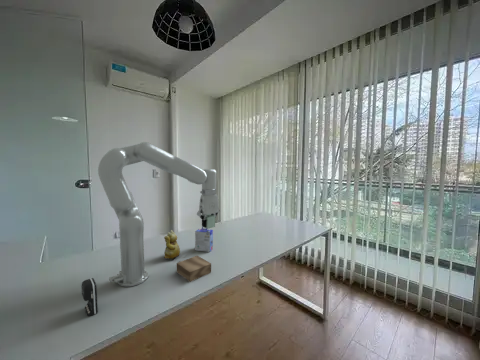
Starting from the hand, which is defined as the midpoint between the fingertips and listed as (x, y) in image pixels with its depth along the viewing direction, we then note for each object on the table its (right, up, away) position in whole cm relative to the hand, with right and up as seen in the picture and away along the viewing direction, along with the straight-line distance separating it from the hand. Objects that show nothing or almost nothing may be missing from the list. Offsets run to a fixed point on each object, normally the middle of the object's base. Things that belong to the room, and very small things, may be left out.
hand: (208, 225), depth 116 cm
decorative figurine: (-21, -20, +6) cm, 29 cm away
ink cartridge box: (-5, -19, +17) cm, 26 cm away
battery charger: (-38, -24, -38) cm, 58 cm away
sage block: (0, -1, 0) cm, 1 cm away
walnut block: (-6, -21, -10) cm, 24 cm away
